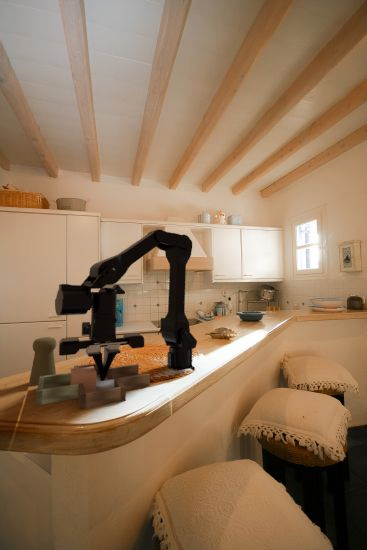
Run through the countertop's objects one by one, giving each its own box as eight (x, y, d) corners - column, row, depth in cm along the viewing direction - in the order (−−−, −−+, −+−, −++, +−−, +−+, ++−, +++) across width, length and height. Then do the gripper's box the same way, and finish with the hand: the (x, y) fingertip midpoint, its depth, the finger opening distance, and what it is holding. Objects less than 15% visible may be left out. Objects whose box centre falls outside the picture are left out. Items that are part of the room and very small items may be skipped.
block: (92, 383, 60) (93, 366, 60) (95, 390, 55) (96, 371, 55) (70, 386, 57) (70, 368, 58) (71, 394, 53) (72, 375, 53)
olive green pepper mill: (44, 388, 58) (46, 340, 59) (22, 386, 59) (24, 339, 60) (61, 379, 64) (63, 336, 65) (41, 377, 65) (43, 335, 66)
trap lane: (131, 370, 72) (132, 359, 72) (157, 397, 53) (158, 382, 53) (40, 382, 61) (41, 369, 62) (33, 421, 43) (33, 403, 43)
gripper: (133, 310, 71) (132, 366, 69) (60, 312, 62) (57, 376, 61) (145, 313, 61) (144, 378, 59) (60, 316, 52) (57, 392, 51)
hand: (102, 380), depth 58 cm, fingers closed
